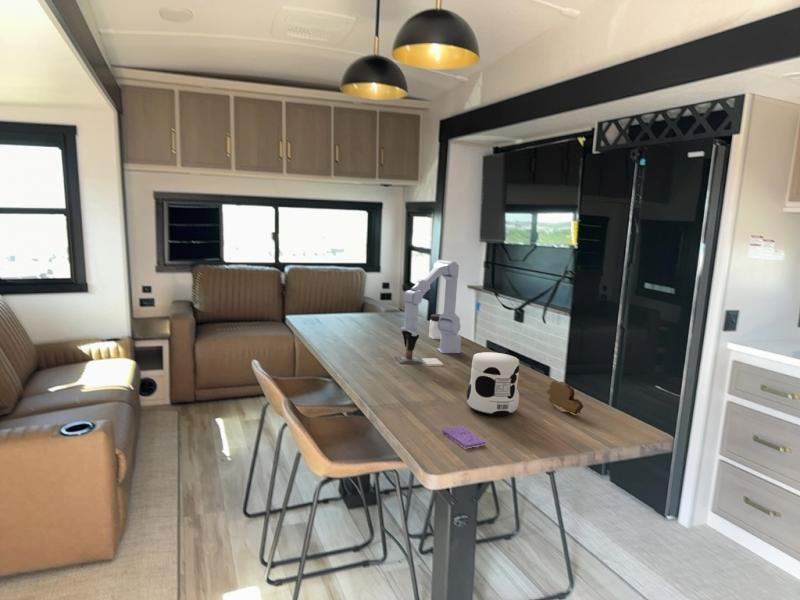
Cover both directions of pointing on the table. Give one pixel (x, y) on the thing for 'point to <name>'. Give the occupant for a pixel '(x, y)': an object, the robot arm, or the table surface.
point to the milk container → (494, 384)
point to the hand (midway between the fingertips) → (409, 348)
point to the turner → (409, 356)
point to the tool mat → (407, 362)
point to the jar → (434, 327)
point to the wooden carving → (564, 397)
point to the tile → (432, 362)
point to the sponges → (463, 436)
